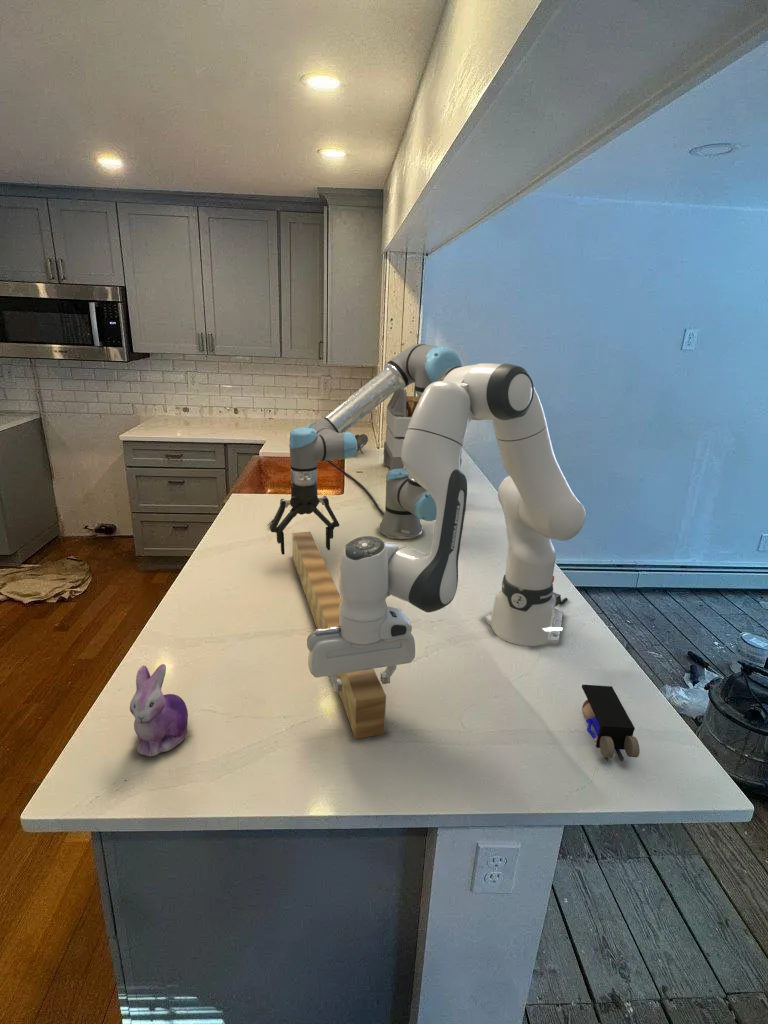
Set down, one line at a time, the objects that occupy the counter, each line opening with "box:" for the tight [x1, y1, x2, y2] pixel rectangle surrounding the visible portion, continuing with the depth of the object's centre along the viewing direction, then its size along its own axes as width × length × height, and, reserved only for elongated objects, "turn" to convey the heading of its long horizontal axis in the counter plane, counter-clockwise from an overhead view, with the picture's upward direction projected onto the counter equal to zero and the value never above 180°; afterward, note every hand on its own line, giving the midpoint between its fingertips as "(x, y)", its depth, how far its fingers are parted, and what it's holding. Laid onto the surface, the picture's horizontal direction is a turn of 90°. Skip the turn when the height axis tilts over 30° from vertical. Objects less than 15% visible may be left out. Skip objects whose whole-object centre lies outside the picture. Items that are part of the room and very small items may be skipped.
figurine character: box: [581, 684, 641, 762], centre depth 105 cm, size 7×8×15 cm
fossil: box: [354, 433, 369, 454], centre depth 305 cm, size 22×10×15 cm
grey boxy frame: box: [383, 388, 463, 471], centre depth 268 cm, size 34×33×41 cm
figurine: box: [129, 663, 189, 757], centre depth 99 cm, size 9×10×15 cm
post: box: [291, 531, 387, 740], centre depth 140 cm, size 81×6×9 cm, turn 17°
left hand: (305, 550), depth 170 cm, fingers open, 13 cm apart
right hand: (361, 685), depth 109 cm, fingers open, 8 cm apart
